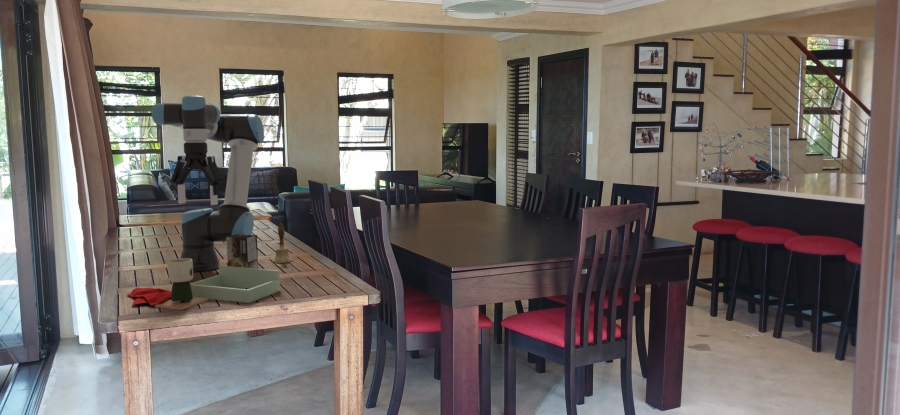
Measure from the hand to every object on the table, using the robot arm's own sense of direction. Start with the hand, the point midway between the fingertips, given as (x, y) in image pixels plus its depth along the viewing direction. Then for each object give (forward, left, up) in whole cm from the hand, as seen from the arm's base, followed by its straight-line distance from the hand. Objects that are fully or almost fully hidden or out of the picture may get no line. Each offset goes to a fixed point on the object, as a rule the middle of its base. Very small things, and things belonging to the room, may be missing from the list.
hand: (198, 204), depth 231 cm
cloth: (-3, -20, -28) cm, 35 cm away
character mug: (+11, -22, -28) cm, 37 cm away
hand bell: (+1, +48, -29) cm, 56 cm away
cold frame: (+18, -6, -29) cm, 34 cm away
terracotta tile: (+11, -22, -29) cm, 38 cm away
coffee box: (+7, +14, -29) cm, 33 cm away
